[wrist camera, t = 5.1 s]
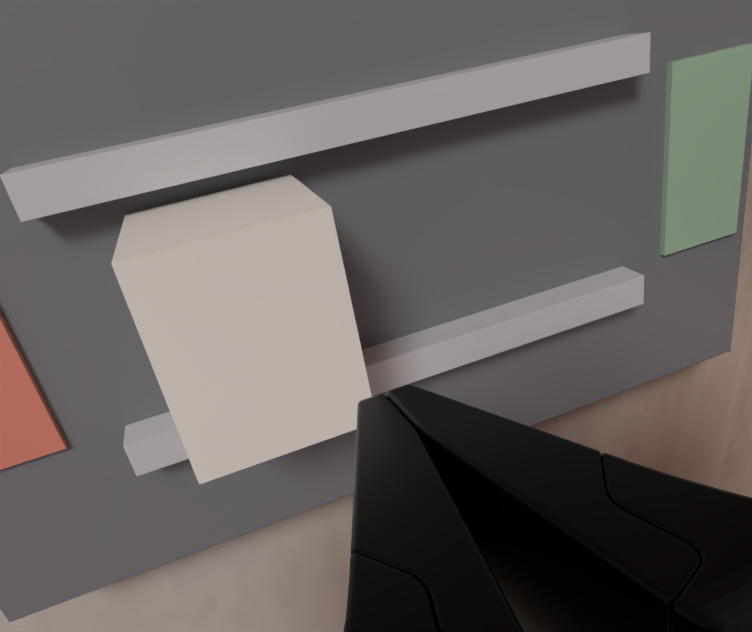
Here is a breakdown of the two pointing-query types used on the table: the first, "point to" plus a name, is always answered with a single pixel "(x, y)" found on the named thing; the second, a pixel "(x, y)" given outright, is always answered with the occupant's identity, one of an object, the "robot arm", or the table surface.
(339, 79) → the slider switch base
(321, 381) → the switch knob
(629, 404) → the table surface
